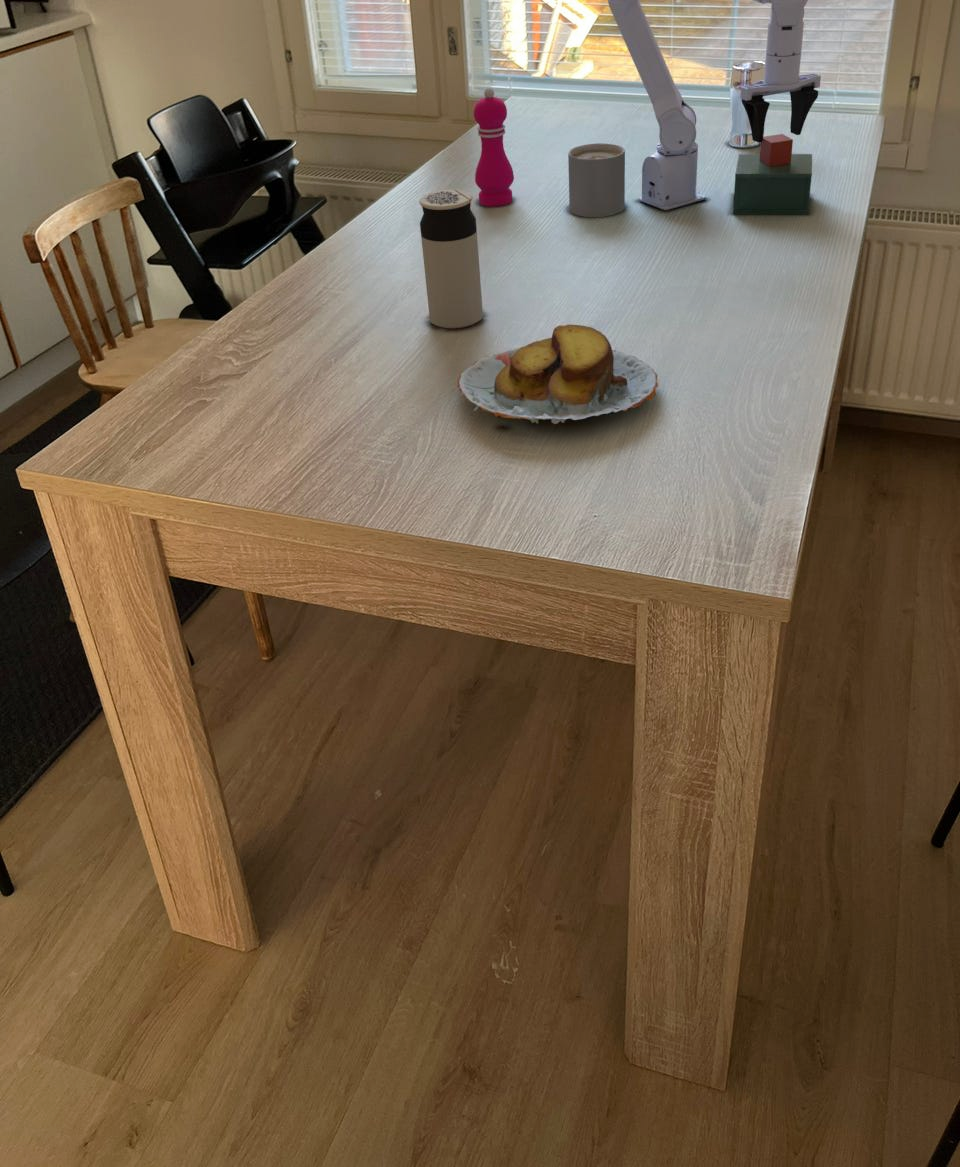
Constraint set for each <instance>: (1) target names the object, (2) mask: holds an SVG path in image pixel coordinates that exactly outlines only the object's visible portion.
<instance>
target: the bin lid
mask: <svg viewBox="0 0 960 1167" xmlns="http://www.w3.org/2000/svg"><path fill="white" fill-rule="evenodd" d="M759 159H760V153H759V154H758V153H756V154H755V153H749V154H748V153H745V154H744V153H741V154H738V156H737V163H736V168H735V172H734V179H735V178H811V179H812V177H813V154H812V153H792V156H791V164H785V165H778V166H772V167H769V166H767V165H766V164H764V163H762V162H761V161H759Z"/></svg>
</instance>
